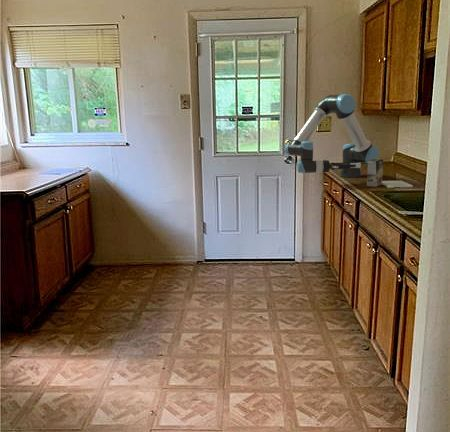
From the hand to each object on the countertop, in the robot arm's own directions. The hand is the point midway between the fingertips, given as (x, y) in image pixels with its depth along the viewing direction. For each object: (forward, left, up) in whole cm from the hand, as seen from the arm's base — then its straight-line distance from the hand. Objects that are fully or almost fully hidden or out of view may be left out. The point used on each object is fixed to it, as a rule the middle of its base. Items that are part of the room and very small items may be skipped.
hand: (360, 165), depth 283 cm
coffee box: (0, +9, -13) cm, 16 cm away
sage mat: (0, +22, -13) cm, 25 cm away
